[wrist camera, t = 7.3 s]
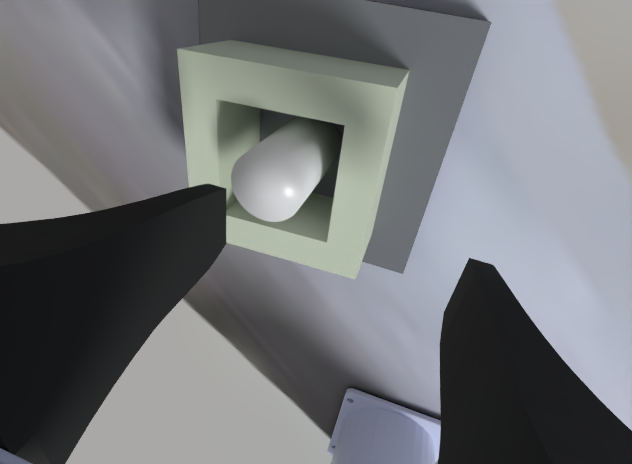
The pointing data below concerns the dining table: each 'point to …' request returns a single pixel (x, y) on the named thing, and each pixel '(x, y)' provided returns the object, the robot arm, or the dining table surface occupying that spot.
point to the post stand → (326, 138)
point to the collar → (301, 100)
